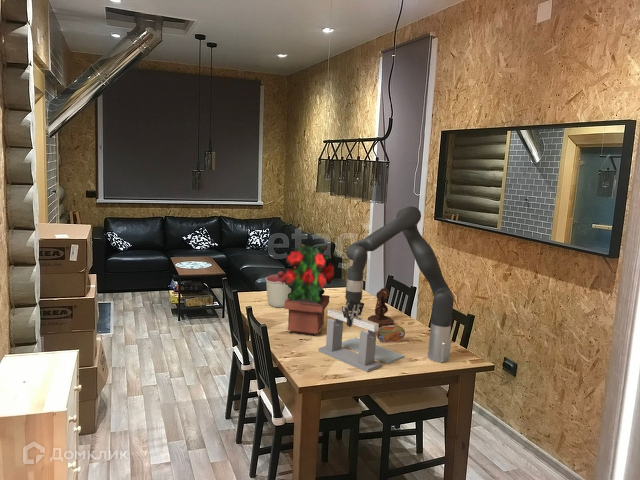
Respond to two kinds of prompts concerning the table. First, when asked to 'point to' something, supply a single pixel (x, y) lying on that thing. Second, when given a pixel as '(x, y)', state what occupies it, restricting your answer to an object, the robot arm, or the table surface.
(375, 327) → the steel bar
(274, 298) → the canister
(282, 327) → the table surface
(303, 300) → the potted plant
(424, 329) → the table surface
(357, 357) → the rack
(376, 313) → the brown statuette
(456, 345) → the table surface
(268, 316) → the table surface
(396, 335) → the tin
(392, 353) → the mat
